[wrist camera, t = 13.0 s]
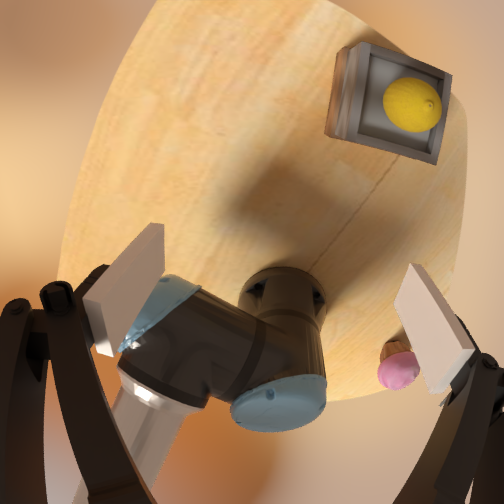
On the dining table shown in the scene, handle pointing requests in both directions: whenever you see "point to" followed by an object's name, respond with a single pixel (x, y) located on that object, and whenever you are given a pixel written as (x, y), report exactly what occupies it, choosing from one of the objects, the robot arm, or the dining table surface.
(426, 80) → the grey storage bin
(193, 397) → the robot arm
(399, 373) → the cupcake
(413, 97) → the lemon
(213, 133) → the dining table surface
